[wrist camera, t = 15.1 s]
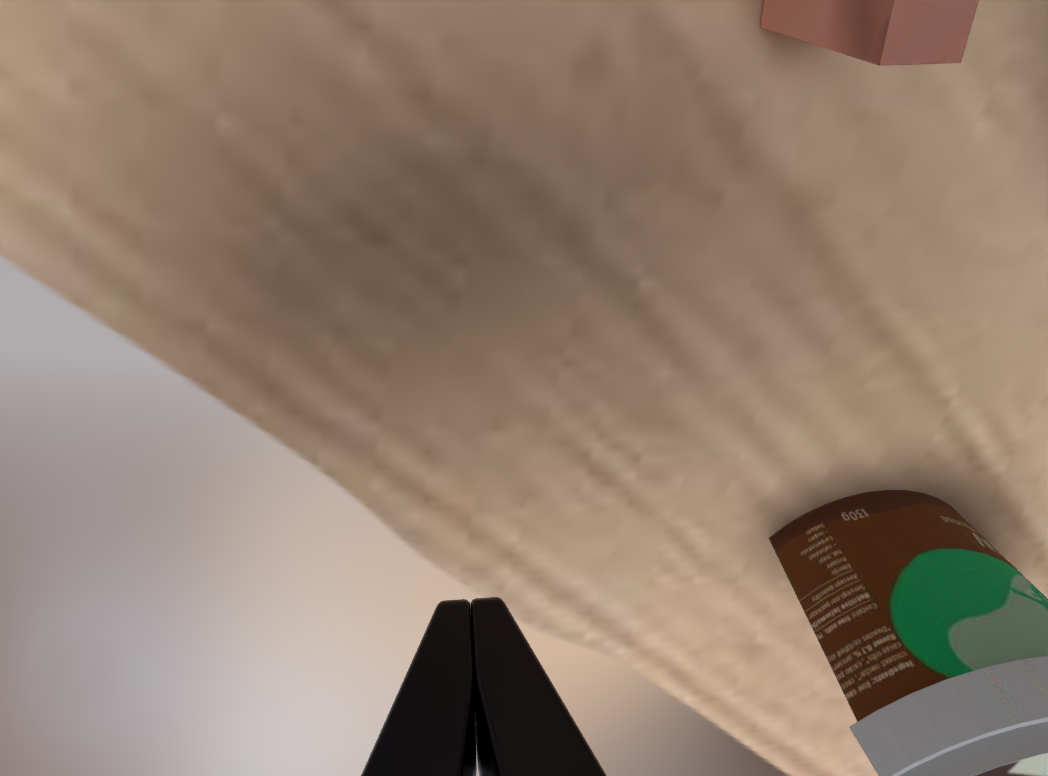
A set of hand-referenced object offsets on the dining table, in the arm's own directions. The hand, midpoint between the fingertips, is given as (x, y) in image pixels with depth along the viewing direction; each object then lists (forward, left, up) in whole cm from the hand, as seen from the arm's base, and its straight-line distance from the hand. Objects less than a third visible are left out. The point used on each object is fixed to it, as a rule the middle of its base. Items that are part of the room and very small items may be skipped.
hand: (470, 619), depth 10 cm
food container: (-16, +12, -12) cm, 24 cm away
